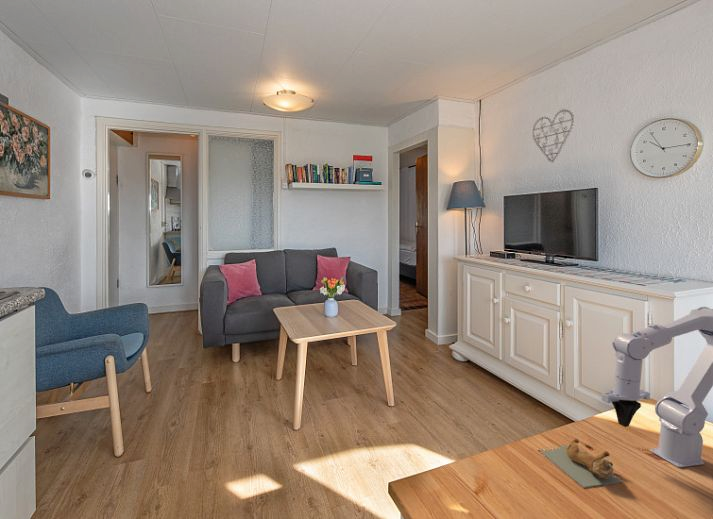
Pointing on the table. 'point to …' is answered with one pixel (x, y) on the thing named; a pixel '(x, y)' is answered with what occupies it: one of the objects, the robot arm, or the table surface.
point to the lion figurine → (590, 460)
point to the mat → (577, 469)
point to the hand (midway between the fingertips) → (623, 424)
